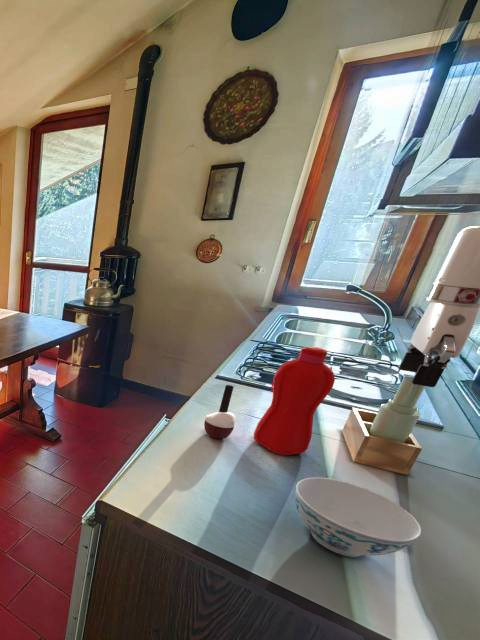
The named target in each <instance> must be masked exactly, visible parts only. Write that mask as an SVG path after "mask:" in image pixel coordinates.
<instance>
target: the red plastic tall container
mask: <svg viewBox="0 0 480 640" xmlns="http://www.w3.org/2000/svg"><path fill="white" fill-rule="evenodd" d="M327 354H328V350H327V349H325V348H322V347H318V346H316V347H315V346H311V347H301V349H300V352H299V353H298V356H297V358H294V359H291V360H288V361H285V362H284V363H281V364H280V366H279V367H278V369H277V370H276V372H275V374H274V375H273V381H272V383H271V387H270V391H271V393H272V399H271V404H270V405H269V407H268V408H267V410H266V411H265V413H264V414H263V415H262V417H261V418H260V419H259V420H258V422H257V425H256V427H255V430H254V432H253V440H254V441H255V442H256V443H257V444H259V445H260V446H262V447H264V448H265V449H267V450H268V451H270V452H271V453H274V454H277V455H280V456H292V455H302V454H303V453H305V452H306V451H307V450H308V448H309V446H310V443H311V440H312V435H313V426H314V425H313V424H314V415H315V413H316V410H317V409H318V408H319V406H320V405H321V404H322V403H323V401H324V400H325V399H326V398H327V396H329V394H330V393H331V391H332V389H333V387H334V384H335V381H336V378H335V374H334V373H335V372H334V371H333V370H332V369H331V368H330V367H329V366H328V365H327V364H325V360H326V358H328V356H327Z"/></svg>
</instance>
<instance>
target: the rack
mask: <svg viewBox="0 0 480 640" xmlns="http://www.w3.org/2000/svg"><path fill="white" fill-rule="evenodd" d="M377 413H378V412H375V411H371V410H367V409H360V408H355V407H352V408H351V409H350V412H349V414H348V417H347V419H346V421H345V423H344V425H343V428H342V430H341V432H342V435H343V438H344V440H345V443H346V446H347V448H348V452H349V454H350V457H351V459H352V462H354V463H358V464H361V465H364V466H365V465H366V466H368V467H369V466H370V467H373V468H377V469H382V470H386V471H389V472H394V473H397V474H401V475H405V476H408V475H409V473H410V472H411V470H412V468H413V466H414V464H415V463H416V461H417V459H418V457H419V455H420V454H421V452H422V450H423V447H422V446H421V445H420V443H419V442H418V441H417V439H416V437H415V436H414V434H413V433H412V432H411V433H410V435H409V437H408V439H407V441H406V443H401V442H397V441H392V440H388V439H383V438H379V437H374V436H370V435H369V433H368V431H369V429H370V427H371V425H372V423H373V421H374V419H375V417H376V415H377Z"/></svg>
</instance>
